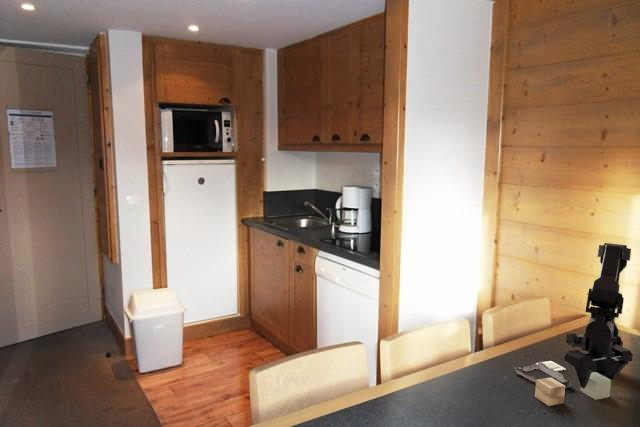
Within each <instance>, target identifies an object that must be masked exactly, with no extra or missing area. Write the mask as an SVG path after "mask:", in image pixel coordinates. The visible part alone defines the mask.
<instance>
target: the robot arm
mask: <svg viewBox="0 0 640 427" xmlns="http://www.w3.org/2000/svg"><path fill="white" fill-rule="evenodd" d="M631 256H632V249H631V248H630V247H629V248H628V245H627V244H619V243H609V242H608V243H607V242H604V244H598V251H597V258H600V259H599V260H600V261H599V262H600V264H601V268H600V274H599V277H598V278H596V279H595V280H594V281H593V282H592V286H591V288H588V293H587V298H586V305H585V313H589V314H590V317H589V320H588V322H587V325H586V327H585V332H584V333H583V334H577V333H575V332H574V333H572V332H571V333H566V337H565V341H566V344H567V346H571V348H581V351H580V350H578V349H575V350H567V351H566V352H564V359H563V361H564V362H567V363H568V364H569V365H570V366H573V367H574V370H575V372H576V375H577V378H578V381H579V385H580V388H581V387H582V388H585V387H586V385H587V383H588V380H589V378H590V375H591V373H593V372H596V373H598V374H600V375H602V376H605V377H606V378H608V379H610V380H611V383H612V382H613V381H614V380H615V378H616V377H617V376H618V375H619V374H620V372H621V371H623V369H624V368H625V367H626V366H627V365H629V362H633V355H634V354H633V353H632V351H631V350H630V349H629V348H626V347H624V345H623V344H624V342H623V341H622V336H619V335H620V333H619V332H620V330H619V328H618V326H617V324H616V321H615V320H616V318H619V316H620V315H622V313H623V307H624V301H625V300H624V299H625V297H623V294H622V292H621V293H620V287H621V286H620V275H621V273H622V272H623V271H624V270H625V269H626V268H627V266H628V262H629V261H631ZM590 305H591V306H590ZM582 351H584V352H582ZM585 352H587V353H585Z"/></svg>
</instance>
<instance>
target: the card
mask: <svg viewBox="0 0 640 427" xmlns="http://www.w3.org/2000/svg"><path fill="white" fill-rule="evenodd" d="M541 362H542V363H544V364H545V365H546V366H547V367H549V369H553V370H555V371H556V372H563V370H564V371H566V370H567V368H565V367H564V366H561V365H560V364H558V363H556V362H554V361H552V360H548V361H541ZM535 365H538V362H536V363H535Z"/></svg>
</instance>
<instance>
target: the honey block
mask: <svg viewBox="0 0 640 427" xmlns="http://www.w3.org/2000/svg"><path fill="white" fill-rule="evenodd" d="M561 383H562V382H560V381H559V380H557V379H555V378H554V377H552V376H550V377H546V378H538V380H536V383H535V389H534V390H535V393H534V398H536V399H538V400H539V401H540V402H542V403H543V404H545V405H547V406H548V407H551V406H552V407H553V406H557V405H562V404H564V402H565V393H566V392H565V391H566V388H565V385H563V384H561Z"/></svg>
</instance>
